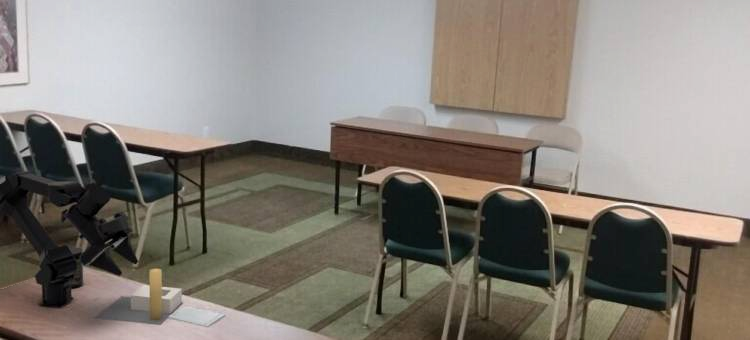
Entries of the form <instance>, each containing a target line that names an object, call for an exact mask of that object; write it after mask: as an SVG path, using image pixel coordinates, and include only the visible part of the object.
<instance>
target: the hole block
mask: <svg viewBox="0 0 750 340" xmlns="http://www.w3.org/2000/svg"><path fill="white" fill-rule="evenodd" d="M182 295H183V289H182V288H180V287H179V288H178V287H169V286H162V313H171V312H172V311H173V310H174V309H175V308H177V307H178V306H179V305H180V304H181V303H182V301H183V298H182ZM130 297H131V309H132V310H141V311H150V284H149V285H148V284H143V285H141V286H140V287H139V288H138V289H136V290H135V291H134V292H133V293H132V294H131V295H130Z"/></svg>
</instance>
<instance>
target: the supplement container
mask: <svg viewBox="0 0 750 340" xmlns="http://www.w3.org/2000/svg"><path fill="white" fill-rule="evenodd" d="M68 248H69V249H70V251H71V252H72V253H73V254H74V255H75V256H74V258H75V259H76V261H77V270H76V274H75V278H74V279H70V286H71V290H72V289H77V288H79V287H81V286H82V285H84V281H85V280H84V265H83V264H82V263H81V261H80V255H81V254H82V253H83V252H84V250H83V248H81V247H75V246H72V247H70V246H68Z"/></svg>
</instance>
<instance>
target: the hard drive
mask: <svg viewBox="0 0 750 340" xmlns="http://www.w3.org/2000/svg"><path fill="white" fill-rule="evenodd" d="M223 318H226V314H221V313H216V312H214V311H209V310H204V309H201V308H195V307H191V306H184V307H182V308H179V309H177V310H176V311H175V312H173V313H172V314H171V315H170V316H169V317H168V318H167V319H170V320H176V321H178V322H183V323H188V324H193V325H196V326H201V327H204V328H205V327H206V328H209V327H211V326H212V325H214V324H216V323H217V322H219V321H221V320H222V319H223Z"/></svg>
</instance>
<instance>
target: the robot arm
mask: <svg viewBox="0 0 750 340" xmlns="http://www.w3.org/2000/svg"><path fill="white" fill-rule="evenodd" d="M30 193H33V194H37V195H39V196H43V197H45V198H47V201H48V202H49V203H50V204H52V205H54V206H55V207H57V208H63V207H68V206H70V207H69V208H66V209H64V210H63V211H61V212H60V215H61V216H60V217H61V218H60V221H61V223H65V222H67V221H68V222H69V223H70V224H71V225H72V226H73V227H74V228H75V229H76V230H77V232H79V235H78V238H80V240H83V239H85V240H86V241H87V242H88V244H90V245H89V246H88V247H87V248H86V249H85V250H83V253H82V254H81V255H80V261H81V263H82V264H83V267H84V266H87V265H88V267H93V268H96V269H100V270H103V271H105V272H108V273H110V274H113V275H115V276H118V277H120V276H122V274H123V271H122V270H121V268H120V267H119V266H118V265H117V264H116V262H115V261H114V259H113V258H112V256H111V254H110V248H112V251H113V252H115V253H116V254H117V255H119V256H121V258H124V259H126V260H127V261H128V262H130V263H131V264H132V265H137V264H138V263H139V260H138V257H137V255H136V254H135V251H134V249H133V245H132V244H131V242H132V241H131V239H132V237H133V234H132V233H133V230H132V229H131V228H130V224H129V222H128V221H129V220H130V217H129V216H128V215H127V214H126V213H124V212H123V211H122V210H121V211H119V212H117V213H114V215H113V218H112V219H110V220H106V219H105V218H103V217H102V218H98V216H97V215H98V214H99V213H100V212H101V211H102V210H103V208H104V207H106V205H108V203H109V202H110V201H111V194H110V193H109V191H108V190H106V189H105V188H104V187H102V186H100V185H97V184H96V182H95V181H94V182H90V183H87V184H86V186H85V187H84V186H82V184H81V183H80V182H78V181H65V180H64V181H56V180H53V179H50V178H47V177H44V176H40V175H37V174H35V173H32V172H31V171H20V172H15V173H13V174H11V175H10V176H9V177H8V179H6V180H4V181H3V182H1V183H0V213H1V214H3V215H5V216H7V217H10V218H11V219H12V220H13V221H14V223H15V224H16V226H17V227H18V229H19V230H20V232H22V234H23V235H24V236H25V238H26V240H27V241H28V243H30V245H31V246H32V248H33V249H34V251H35V252H36V254H37V255H38V257H39V264H38V266H39V270H38V272H37V273H36V274H35V275H34V278H35V283H36V284H37V285H41V294H42V295H41V296H42V299H41V301H40V302H39V303H38V306H43V307H51V308H63V307H64V306H66V305H67V304H68V303H70V302H72V301H73V300H74V297H73V296H72V289H71V286H70V279H74V278H75V274H76V270H77V261H76V259H75V258H74V256H75V255H74V254H73V253H72V252H71V251H70V249H69V248H68V247H69V246H68V245H66V244H63V245H58V244H56V243H55V241H54V240H53V238H52V237H51V236H50V234H48V231H47V230H46V229H45V228H44V226H43V225H42V224H41V222H40V220H38V218H37V217H36V216H35V214H34V213H33V211H32V210H31V209H30V207H29V194H30ZM109 247H110V248H109Z"/></svg>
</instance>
